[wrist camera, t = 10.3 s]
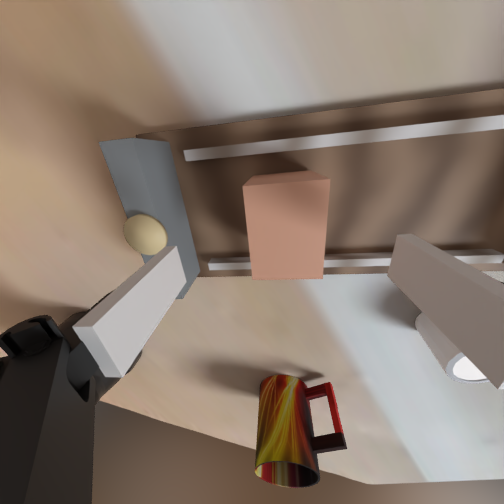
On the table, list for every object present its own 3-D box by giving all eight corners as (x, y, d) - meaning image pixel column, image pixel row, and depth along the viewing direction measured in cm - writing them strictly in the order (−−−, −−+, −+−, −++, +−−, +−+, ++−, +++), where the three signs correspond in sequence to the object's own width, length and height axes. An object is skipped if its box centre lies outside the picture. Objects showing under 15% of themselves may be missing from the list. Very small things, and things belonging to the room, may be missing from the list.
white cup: (409, 306, 28) (448, 350, 22) (467, 297, 26) (526, 342, 20) (409, 339, 31) (444, 387, 24) (462, 333, 29) (513, 382, 23)
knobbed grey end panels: (177, 271, 28) (151, 302, 22) (138, 145, 21) (86, 142, 15) (539, 262, 22) (634, 301, 16) (652, 84, 15) (886, 41, 9)
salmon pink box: (258, 243, 25) (252, 280, 17) (253, 175, 21) (242, 186, 14) (308, 241, 24) (322, 278, 17) (310, 170, 20) (330, 179, 13)
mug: (331, 377, 37) (355, 468, 26) (290, 407, 43) (295, 492, 32) (288, 356, 35) (293, 444, 25) (251, 391, 41) (243, 473, 31)
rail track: (181, 273, 29) (174, 283, 27) (141, 135, 22) (126, 133, 19) (525, 265, 24) (551, 277, 21) (640, 73, 16) (700, 59, 14)
